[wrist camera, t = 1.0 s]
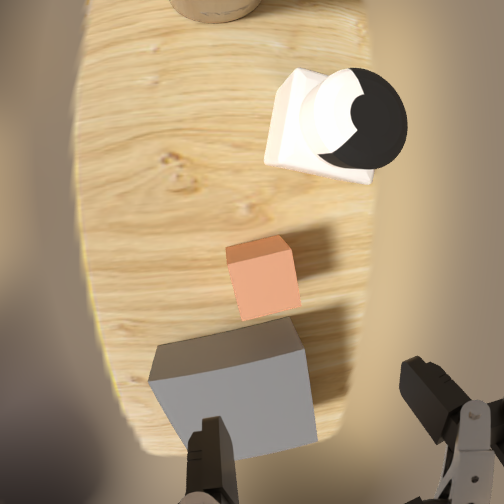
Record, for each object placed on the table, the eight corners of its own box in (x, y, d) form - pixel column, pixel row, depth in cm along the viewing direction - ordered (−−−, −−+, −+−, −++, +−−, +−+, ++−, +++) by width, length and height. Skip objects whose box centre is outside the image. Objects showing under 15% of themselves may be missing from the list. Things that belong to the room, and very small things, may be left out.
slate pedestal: (157, 345, 30) (147, 381, 24) (289, 316, 30) (304, 348, 25) (198, 429, 34) (197, 465, 28) (305, 407, 34) (317, 441, 29)
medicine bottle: (349, 108, 25) (426, 82, 14) (337, 180, 27) (411, 193, 16) (276, 89, 24) (318, 38, 13) (262, 164, 26) (296, 162, 14)
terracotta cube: (225, 247, 28) (227, 264, 23) (278, 234, 28) (291, 248, 23) (237, 296, 29) (242, 321, 24) (288, 283, 29) (301, 306, 25)
